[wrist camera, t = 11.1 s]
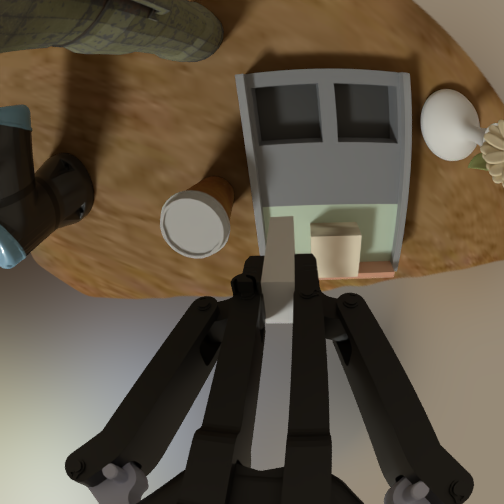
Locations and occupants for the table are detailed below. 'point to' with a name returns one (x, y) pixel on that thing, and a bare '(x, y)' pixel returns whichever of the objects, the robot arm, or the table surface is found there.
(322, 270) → the birch block
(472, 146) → the flower in vase
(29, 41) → the thermos
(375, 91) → the box
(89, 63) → the table surface
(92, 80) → the table surface
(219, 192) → the disposable coffee cup
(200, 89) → the table surface
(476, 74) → the table surface
